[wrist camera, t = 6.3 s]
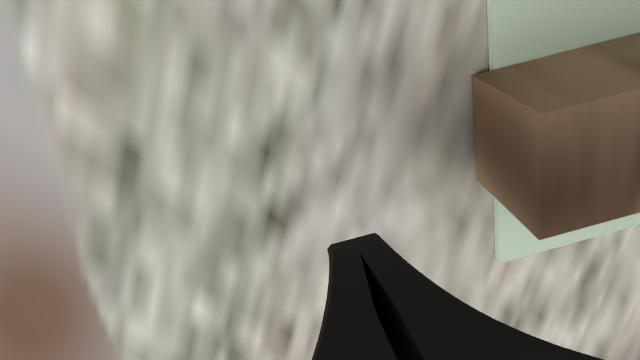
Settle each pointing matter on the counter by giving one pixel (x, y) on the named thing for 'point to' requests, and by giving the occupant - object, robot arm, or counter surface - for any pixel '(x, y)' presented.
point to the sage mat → (539, 41)
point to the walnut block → (562, 136)
